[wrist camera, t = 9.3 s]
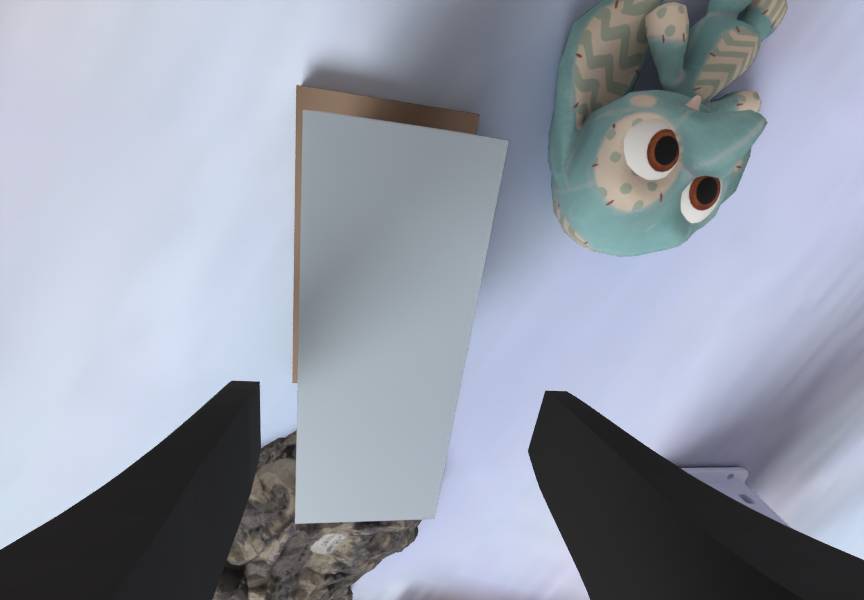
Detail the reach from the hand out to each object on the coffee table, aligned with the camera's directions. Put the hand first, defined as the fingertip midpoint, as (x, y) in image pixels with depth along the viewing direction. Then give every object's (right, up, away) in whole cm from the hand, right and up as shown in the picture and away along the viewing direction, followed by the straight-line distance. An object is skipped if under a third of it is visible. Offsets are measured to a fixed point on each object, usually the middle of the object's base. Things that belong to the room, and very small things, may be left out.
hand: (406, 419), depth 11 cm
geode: (-8, -10, +15) cm, 20 cm away
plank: (-1, +3, +5) cm, 6 cm away
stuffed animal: (+10, +11, +8) cm, 17 cm away
